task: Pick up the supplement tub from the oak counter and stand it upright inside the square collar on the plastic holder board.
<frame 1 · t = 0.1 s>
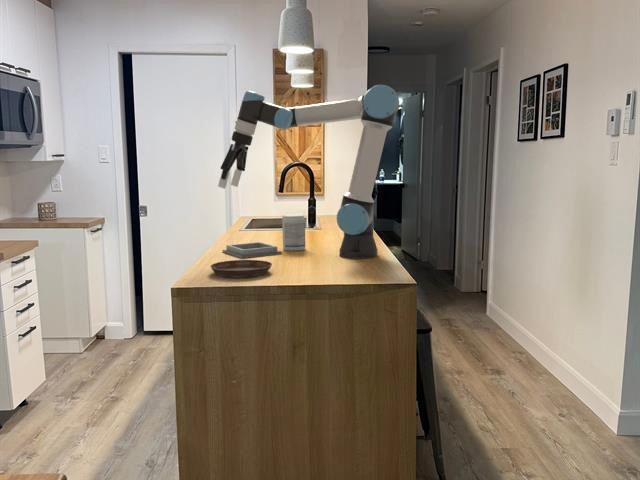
hand: (227, 186, 215), 28 cm above the counter, tool tilted 20°, fingers open, 13 cm apart
supplement tub: (294, 249, 239), on the counter
holder board: (251, 253, 231), on the counter
plant saucer: (241, 274, 191), on the counter
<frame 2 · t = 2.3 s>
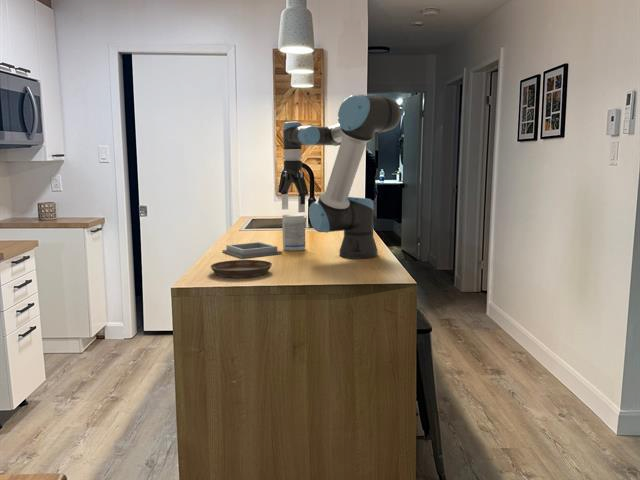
hand: (293, 210, 237), 16 cm above the counter, tool pointing down, fingers open, 13 cm apart
nothing on the counter moved.
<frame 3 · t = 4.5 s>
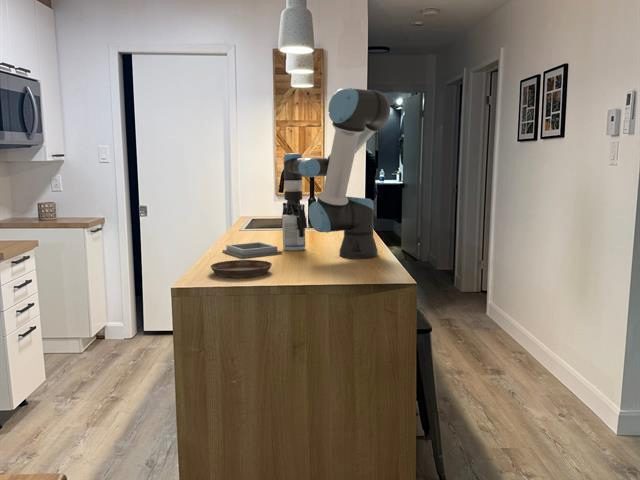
hand: (294, 243, 239), 3 cm above the counter, tool pointing down, fingers closed on supplement tub, 10 cm apart
supplement tub: (294, 249, 239), on the counter, touching gripper
everything else where it was.
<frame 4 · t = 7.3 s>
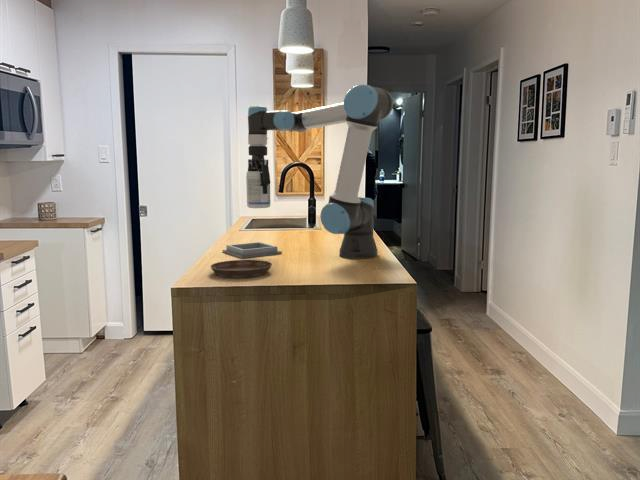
hand: (258, 201, 230), 21 cm above the counter, tool pointing down, fingers closed on supplement tub, 10 cm apart
supplement tub: (258, 208, 230), point 18 cm above the counter, touching gripper
everything else where it was.
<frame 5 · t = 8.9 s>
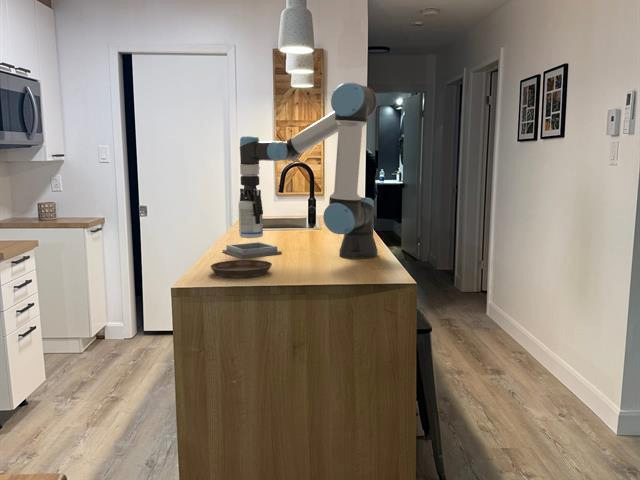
hand: (250, 230, 229), 9 cm above the counter, tool pointing down, fingers closed on supplement tub, 10 cm apart
supplement tub: (251, 237, 230), point 6 cm above the counter, touching gripper
everything else where it was.
when the fingers open (5 cm above the counter, at t = 10.4 s): supplement tub stays where it is, resting on holder board.
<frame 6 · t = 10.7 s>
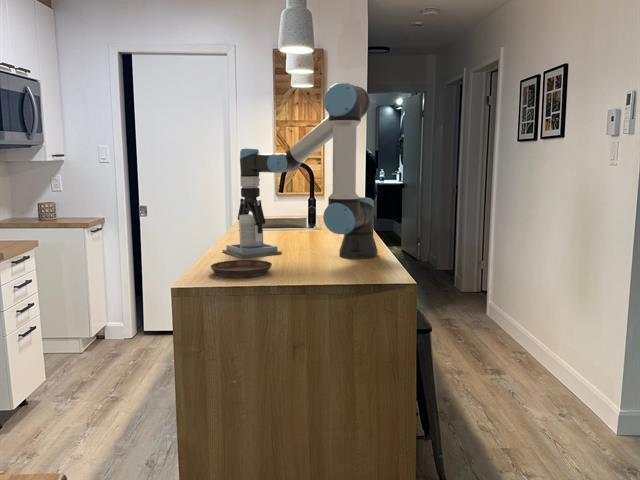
hand: (251, 239, 230), 6 cm above the counter, tool pointing down, fingers open, 13 cm apart
supplement tub: (251, 251, 231), point 1 cm above the counter, touching holder board
everything else where it was.
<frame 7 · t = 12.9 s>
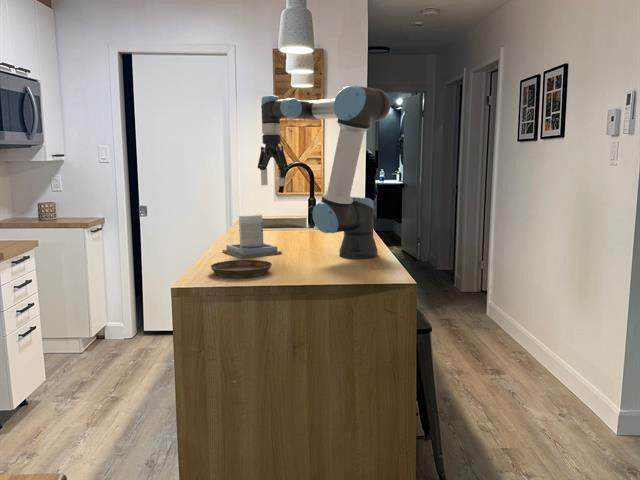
hand: (272, 185, 237), 27 cm above the counter, tool pointing down, fingers open, 13 cm apart
nothing on the counter moved.
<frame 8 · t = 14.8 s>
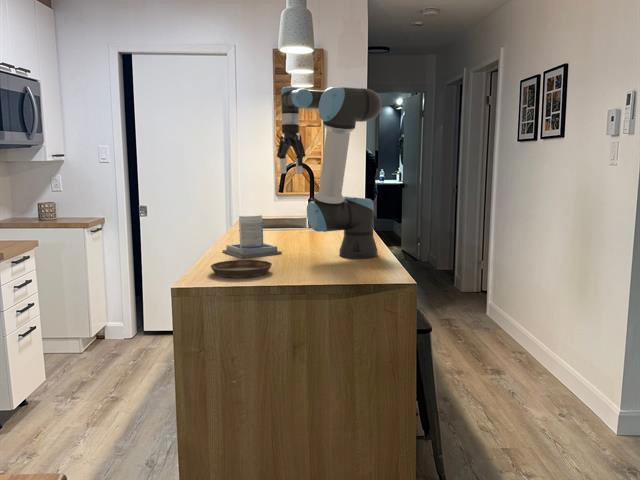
hand: (291, 173, 246), 32 cm above the counter, tool pointing down, fingers open, 13 cm apart
nothing on the counter moved.
at the end: supplement tub 0.2 cm off-centre on the holder board, point 0.8 cm above the holder board's base; supplement tub tilted 0°; the gripper is holding nothing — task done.
